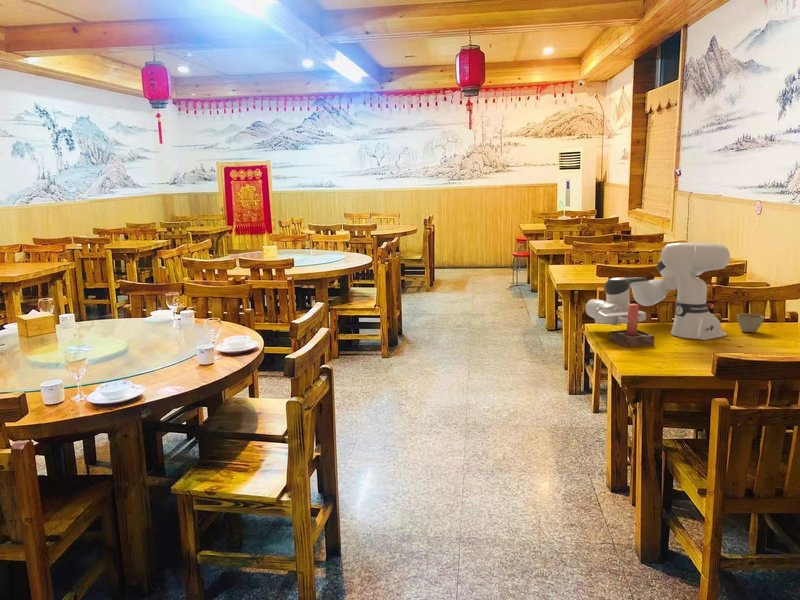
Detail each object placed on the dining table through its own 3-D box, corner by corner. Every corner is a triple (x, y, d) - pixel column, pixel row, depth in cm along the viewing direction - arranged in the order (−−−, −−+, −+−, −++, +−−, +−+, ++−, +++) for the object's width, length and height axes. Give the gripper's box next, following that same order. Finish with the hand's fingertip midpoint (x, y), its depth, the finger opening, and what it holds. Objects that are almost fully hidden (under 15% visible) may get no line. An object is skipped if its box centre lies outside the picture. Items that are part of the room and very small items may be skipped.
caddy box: (634, 338, 262) (634, 329, 261) (653, 345, 251) (654, 335, 250) (609, 340, 259) (610, 331, 258) (628, 348, 247) (628, 338, 247)
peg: (632, 337, 257) (634, 303, 254) (638, 339, 253) (640, 305, 250) (624, 337, 256) (625, 304, 253) (630, 340, 252) (632, 305, 249)
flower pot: (756, 335, 264) (758, 319, 263) (731, 331, 271) (733, 315, 270) (765, 331, 270) (767, 315, 269) (741, 328, 278) (742, 312, 277)
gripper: (633, 319, 269) (655, 326, 256) (591, 323, 263) (611, 330, 250) (633, 305, 268) (656, 311, 255) (592, 308, 262) (612, 315, 249)
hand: (633, 320), depth 252 cm, fingers closed on peg, 4 cm apart
